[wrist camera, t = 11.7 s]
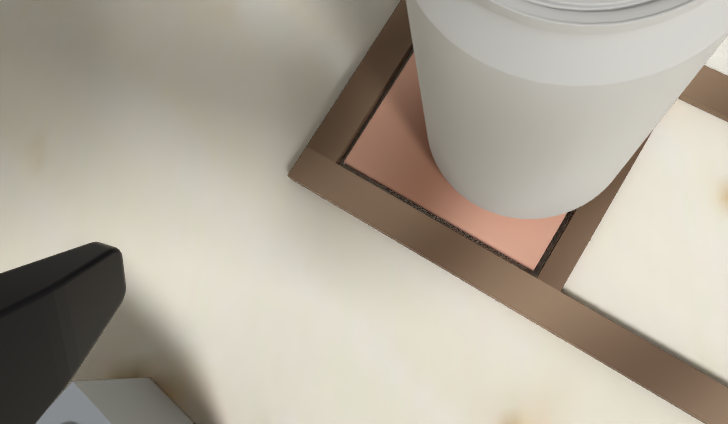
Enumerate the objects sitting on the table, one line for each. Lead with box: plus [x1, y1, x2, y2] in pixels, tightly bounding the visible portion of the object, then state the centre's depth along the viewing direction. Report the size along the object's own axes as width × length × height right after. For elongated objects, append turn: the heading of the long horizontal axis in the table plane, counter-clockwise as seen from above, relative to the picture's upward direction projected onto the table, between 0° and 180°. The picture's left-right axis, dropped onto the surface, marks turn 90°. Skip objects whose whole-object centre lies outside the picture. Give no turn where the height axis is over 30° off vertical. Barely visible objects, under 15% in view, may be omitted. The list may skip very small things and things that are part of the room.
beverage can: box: [406, 0, 728, 219], centre depth 16 cm, size 6×6×12 cm
